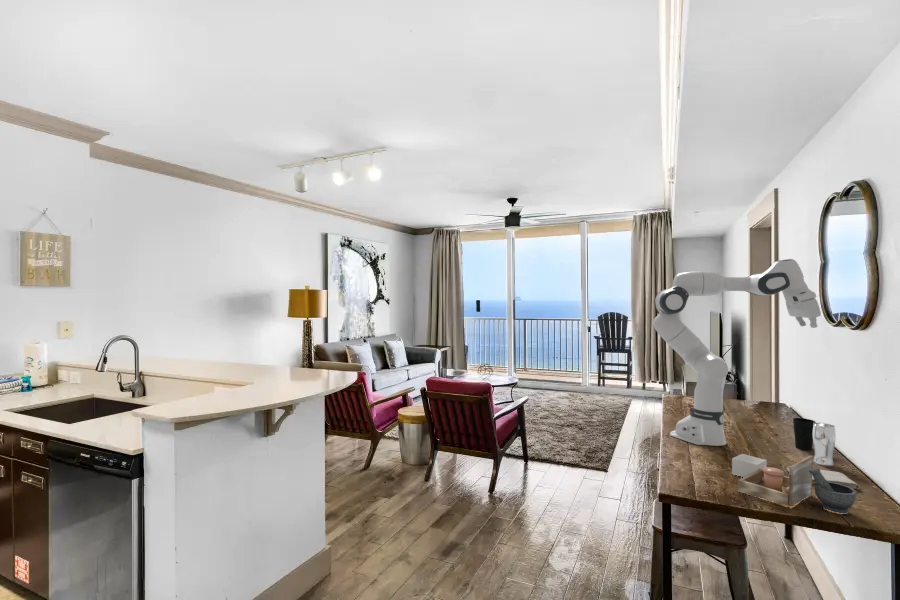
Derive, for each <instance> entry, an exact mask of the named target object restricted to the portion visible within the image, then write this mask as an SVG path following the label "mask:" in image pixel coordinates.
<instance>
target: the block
mask: <svg viewBox="0 0 900 600" xmlns="http://www.w3.org/2000/svg"><path fill="white" fill-rule="evenodd" d="M731 461H732V462H731V464H732V465H731V466H732V467H731V475H732V474H733V475H732V476H735V475H737V476H736V477H738V476H741V477H740V478H742V477H745V476H747V475H749V474H751V473H753V472H755V471H757V470H759V469H762V470H763V468H764V467H768V464H767V463H768V462H767V459H764V458H760V457H756V456H752V455H749V454H745V453H741V454H739V455H736V456H734V457H732V459H731Z"/></svg>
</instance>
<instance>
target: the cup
mask: <svg viewBox="0 0 900 600" xmlns="http://www.w3.org/2000/svg"><path fill="white" fill-rule="evenodd" d="M792 423H793V424H792V426H793V435H794V444H795V446H794V447H795V448H796V449H798V450H801V451H808V452H809V451H812V450H813V447H814V443H813V436H812V433H813V423H817V422H816V420H814V419H810V418H803V417H794V418H792Z"/></svg>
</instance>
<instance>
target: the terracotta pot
mask: <svg viewBox="0 0 900 600" xmlns="http://www.w3.org/2000/svg"><path fill="white" fill-rule="evenodd" d="M763 472H764V487H766V488H770V489H773V490H776V491H780V492H782V480H783V476H785V473H784V470H782V469H780V468H777V467H770V466H767V467H764V468H763Z"/></svg>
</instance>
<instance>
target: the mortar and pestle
mask: <svg viewBox="0 0 900 600" xmlns="http://www.w3.org/2000/svg"><path fill="white" fill-rule="evenodd" d="M820 470H821V469H820V468H819V467H812V469H810V470H809V472H810V473H811V474H812V475H813V477H814V479H815V481H816V483H815V485H813V486H814V488H813V489H814V492H815V493H814V494H815V496H816V498H817V500H819V501H820V502H821V507H822V506H823V507H824V508H825V509H828V510H831V511H834V512H839V513H847V512H848V513H849V509H850V508H851V507H852V506H853V505H854V504H855V502H856V501H857V496H858V495H857V494H858V491H857V490H854V489H852V488H851V487H848V486H845V485H842V484H838V483H833V482H827V481H826V479H825V478H824V477H823V475H822V474H821V472H820Z"/></svg>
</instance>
